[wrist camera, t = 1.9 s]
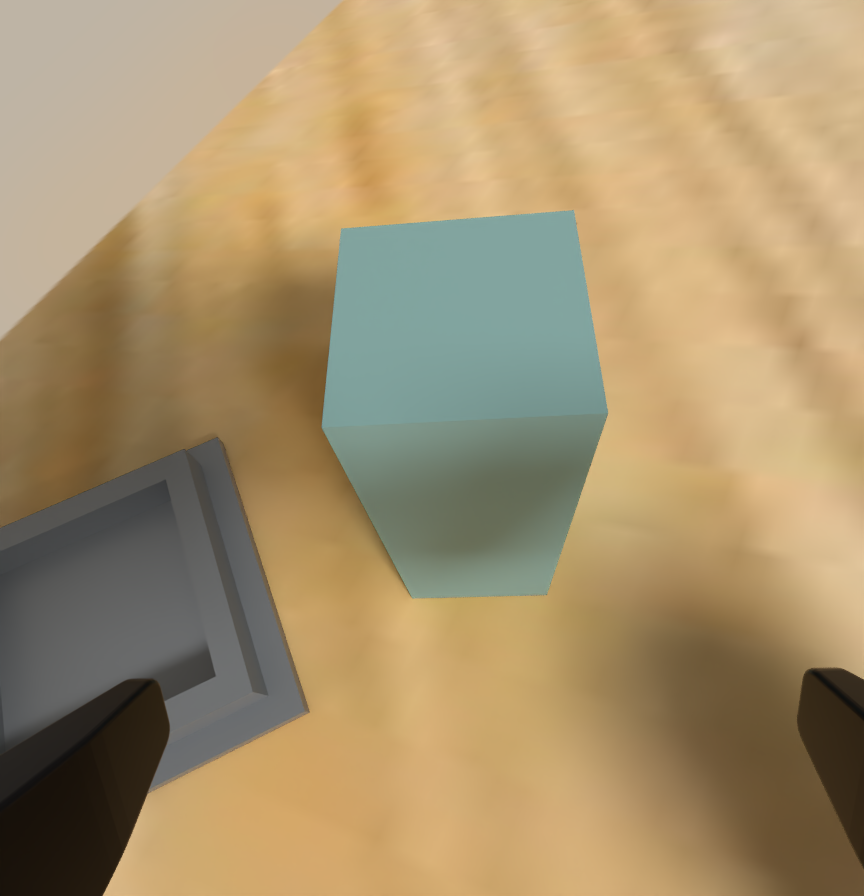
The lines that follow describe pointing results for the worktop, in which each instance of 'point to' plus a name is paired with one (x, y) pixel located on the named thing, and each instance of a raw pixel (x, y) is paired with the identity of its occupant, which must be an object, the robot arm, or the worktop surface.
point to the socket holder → (146, 610)
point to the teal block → (466, 395)
